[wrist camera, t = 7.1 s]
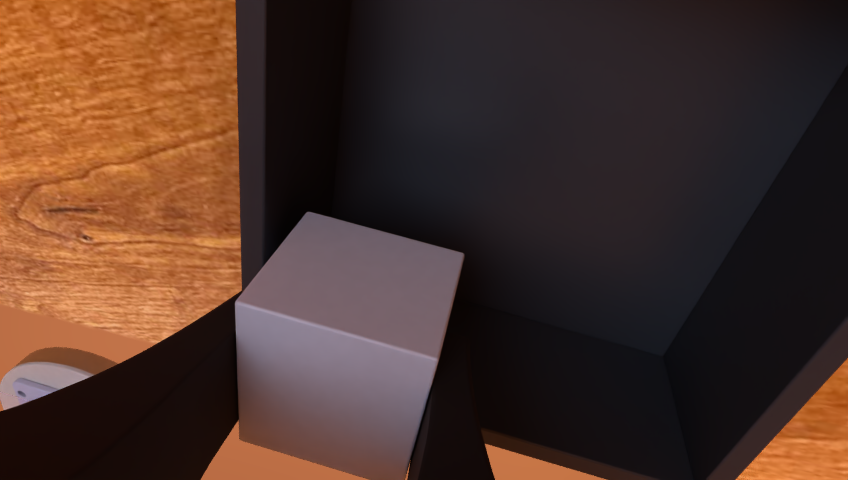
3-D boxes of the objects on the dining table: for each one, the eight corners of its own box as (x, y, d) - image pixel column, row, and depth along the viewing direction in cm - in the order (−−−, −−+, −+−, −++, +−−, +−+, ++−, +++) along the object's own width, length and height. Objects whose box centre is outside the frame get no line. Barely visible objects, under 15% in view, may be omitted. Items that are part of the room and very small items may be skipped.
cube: (431, 374, 15) (401, 491, 12) (299, 337, 15) (237, 441, 12) (465, 252, 12) (438, 360, 10) (307, 209, 13) (233, 301, 10)
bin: (669, 361, 18) (708, 510, 14) (315, 263, 19) (242, 372, 15) (943, -61, 11) (1217, -39, 7) (350, -188, 12) (228, -245, 7)
